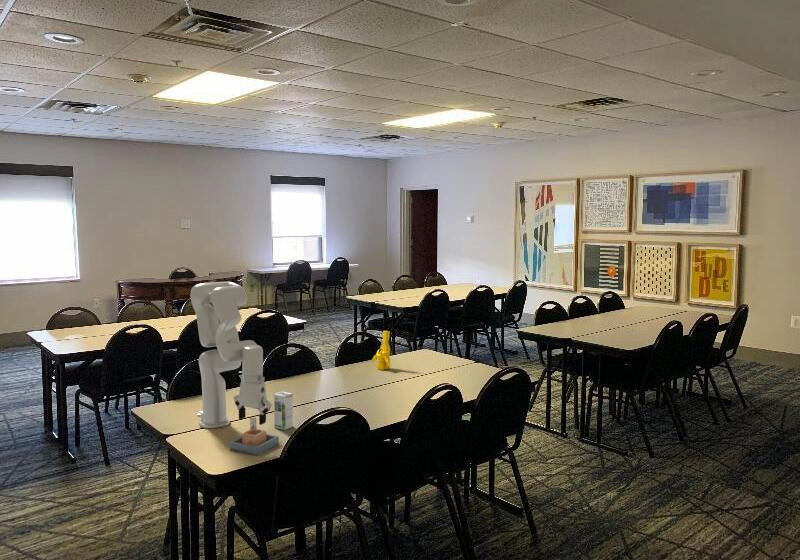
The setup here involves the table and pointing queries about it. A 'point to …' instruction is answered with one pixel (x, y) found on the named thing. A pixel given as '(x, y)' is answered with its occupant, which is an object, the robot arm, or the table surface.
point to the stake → (253, 423)
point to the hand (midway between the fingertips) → (252, 421)
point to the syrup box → (283, 410)
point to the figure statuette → (383, 353)
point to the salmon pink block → (254, 437)
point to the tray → (253, 450)
